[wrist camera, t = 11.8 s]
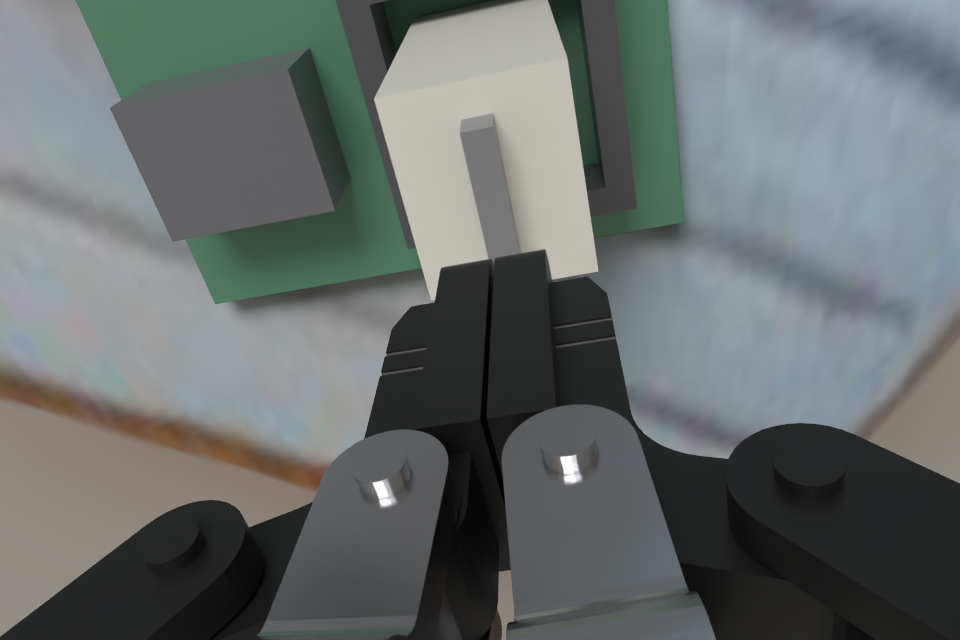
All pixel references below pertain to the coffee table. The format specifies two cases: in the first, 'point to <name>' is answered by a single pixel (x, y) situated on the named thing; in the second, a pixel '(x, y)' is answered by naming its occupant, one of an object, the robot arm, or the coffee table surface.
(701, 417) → the coffee table surface
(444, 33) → the plug
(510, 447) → the robot arm
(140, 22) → the header board
